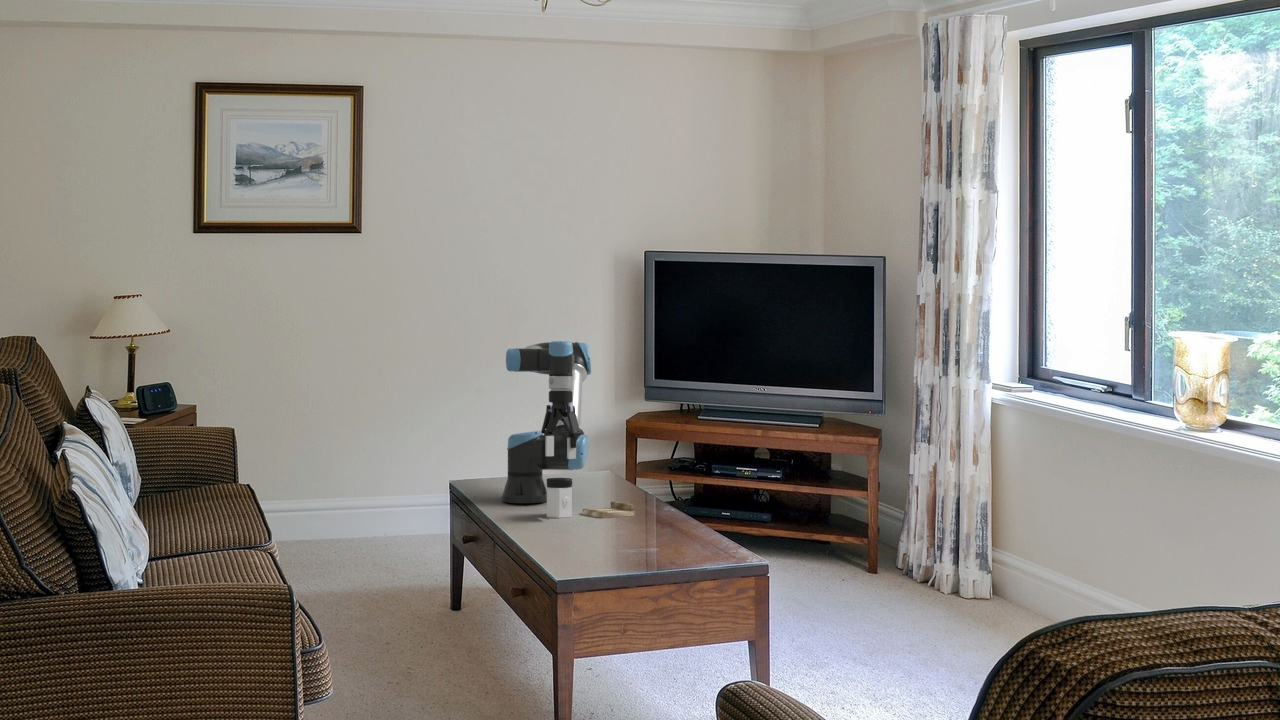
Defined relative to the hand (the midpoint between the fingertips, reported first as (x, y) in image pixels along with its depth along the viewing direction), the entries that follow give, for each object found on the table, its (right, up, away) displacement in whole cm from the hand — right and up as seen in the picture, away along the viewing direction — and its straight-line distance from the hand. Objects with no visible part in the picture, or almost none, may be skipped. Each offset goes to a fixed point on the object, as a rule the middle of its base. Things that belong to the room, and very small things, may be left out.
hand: (560, 457), depth 344 cm
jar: (0, -19, -1) cm, 19 cm away
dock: (+15, -19, +4) cm, 24 cm away
